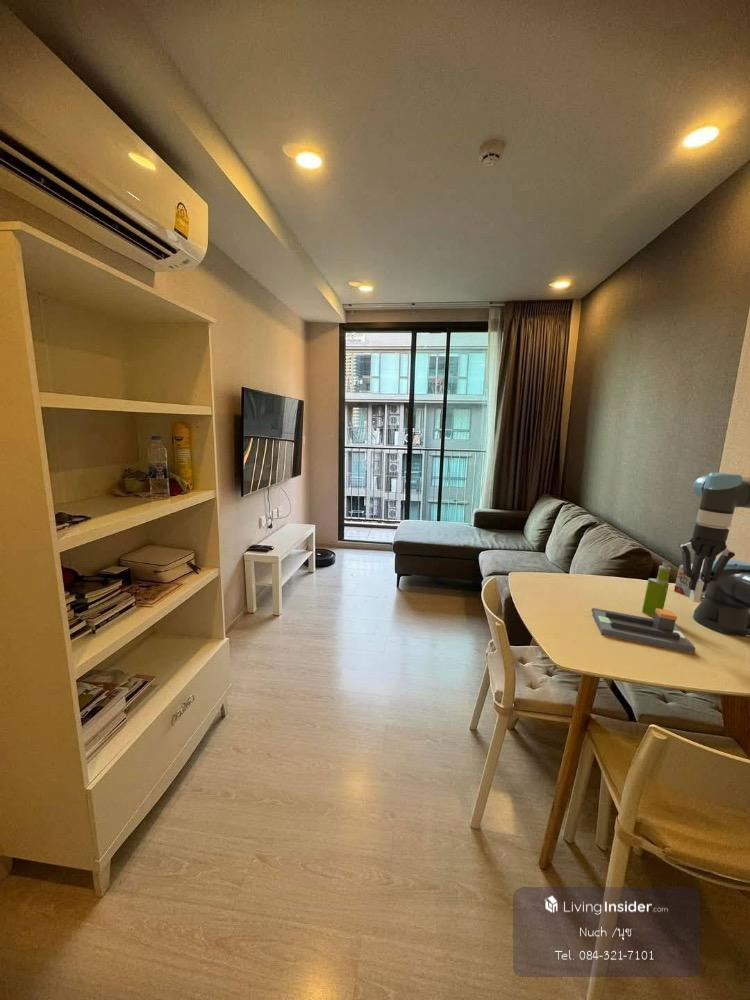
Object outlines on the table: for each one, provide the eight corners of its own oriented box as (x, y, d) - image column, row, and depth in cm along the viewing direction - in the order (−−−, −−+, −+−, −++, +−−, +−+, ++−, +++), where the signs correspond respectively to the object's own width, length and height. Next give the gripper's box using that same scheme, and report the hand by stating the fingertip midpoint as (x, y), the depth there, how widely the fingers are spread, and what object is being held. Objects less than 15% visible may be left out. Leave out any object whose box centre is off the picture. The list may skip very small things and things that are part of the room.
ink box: (672, 591, 158) (678, 564, 156) (684, 588, 161) (690, 562, 159) (697, 599, 150) (703, 571, 148) (708, 597, 154) (714, 569, 152)
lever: (667, 628, 119) (671, 610, 118) (672, 635, 115) (677, 616, 114) (652, 625, 121) (655, 608, 120) (656, 632, 117) (660, 613, 116)
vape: (658, 619, 131) (669, 564, 127) (639, 611, 136) (650, 559, 132) (663, 617, 132) (675, 563, 129) (645, 609, 138) (656, 558, 134)
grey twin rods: (665, 624, 127) (666, 620, 127) (669, 628, 124) (670, 624, 124) (590, 610, 134) (591, 606, 134) (592, 614, 132) (593, 610, 131)
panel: (674, 630, 123) (676, 620, 122) (693, 653, 110) (696, 642, 109) (592, 615, 131) (593, 605, 130) (601, 634, 118) (603, 624, 117)
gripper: (732, 526, 111) (714, 600, 115) (680, 519, 115) (663, 591, 119) (747, 531, 104) (727, 610, 108) (691, 524, 108) (673, 600, 112)
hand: (694, 600), depth 114 cm, fingers closed
